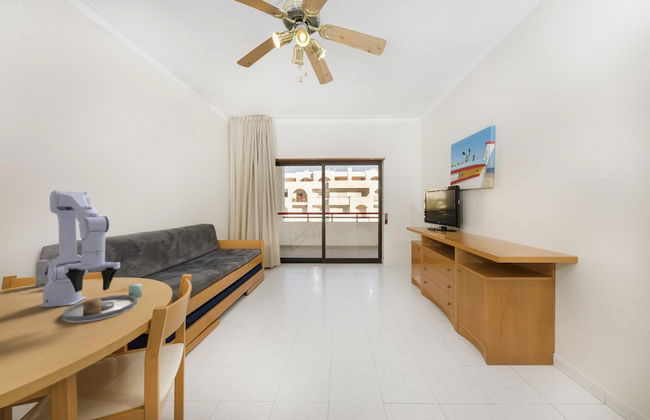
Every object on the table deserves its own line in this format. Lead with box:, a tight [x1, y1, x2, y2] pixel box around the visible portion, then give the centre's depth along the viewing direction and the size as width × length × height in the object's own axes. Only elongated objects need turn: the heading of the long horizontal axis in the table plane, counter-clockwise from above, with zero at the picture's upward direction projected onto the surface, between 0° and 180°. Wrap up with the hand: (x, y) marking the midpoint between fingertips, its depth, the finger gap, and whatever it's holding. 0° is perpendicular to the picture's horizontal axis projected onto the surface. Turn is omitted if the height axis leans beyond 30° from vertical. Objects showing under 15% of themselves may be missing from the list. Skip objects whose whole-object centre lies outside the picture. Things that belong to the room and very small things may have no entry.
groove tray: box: [61, 294, 138, 324], centre depth 85 cm, size 20×20×2 cm
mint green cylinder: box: [128, 283, 143, 299], centre depth 98 cm, size 4×4×5 cm
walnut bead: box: [82, 297, 101, 316], centre depth 79 cm, size 4×4×5 cm
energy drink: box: [35, 258, 54, 288], centre depth 109 cm, size 5×5×12 cm
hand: (92, 290), depth 79 cm, fingers open, 7 cm apart
